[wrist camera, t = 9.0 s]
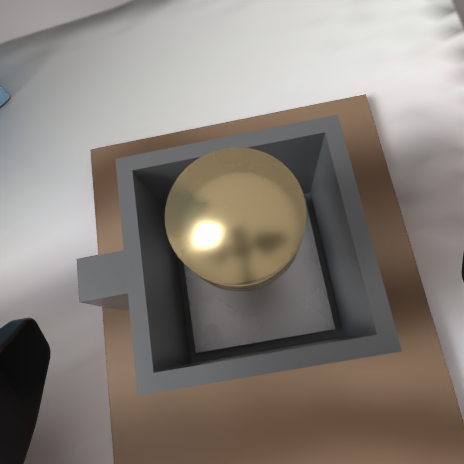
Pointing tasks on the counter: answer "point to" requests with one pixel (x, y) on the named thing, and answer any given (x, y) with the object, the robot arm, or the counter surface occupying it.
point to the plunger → (246, 250)
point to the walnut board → (303, 379)
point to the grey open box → (174, 280)
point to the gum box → (3, 96)
